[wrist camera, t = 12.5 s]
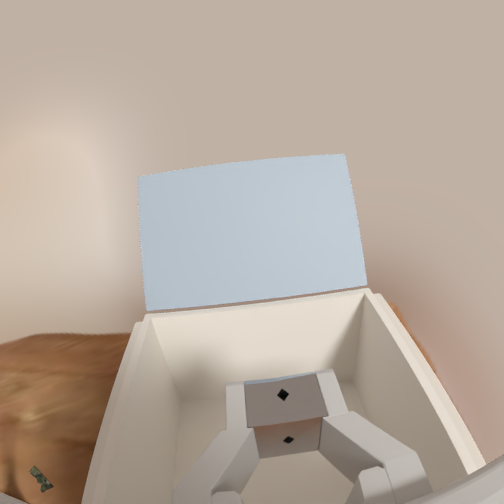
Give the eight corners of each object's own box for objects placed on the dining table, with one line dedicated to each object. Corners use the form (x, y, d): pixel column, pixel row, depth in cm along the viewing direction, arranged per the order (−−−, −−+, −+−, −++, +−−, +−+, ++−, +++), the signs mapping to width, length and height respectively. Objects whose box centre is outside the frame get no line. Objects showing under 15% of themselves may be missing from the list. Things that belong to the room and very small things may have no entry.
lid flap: (344, 153, 25) (342, 156, 26) (138, 176, 25) (140, 179, 25) (367, 285, 24) (364, 285, 24) (146, 310, 23) (148, 310, 24)
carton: (428, 558, 10) (510, 515, 6) (155, 594, 10) (69, 576, 5) (361, 377, 29) (375, 286, 24) (172, 399, 29) (138, 314, 24)
